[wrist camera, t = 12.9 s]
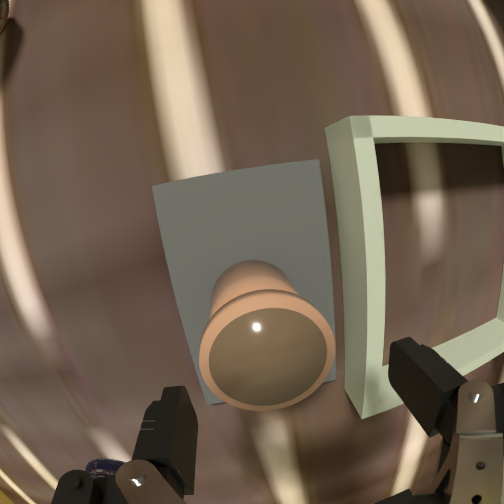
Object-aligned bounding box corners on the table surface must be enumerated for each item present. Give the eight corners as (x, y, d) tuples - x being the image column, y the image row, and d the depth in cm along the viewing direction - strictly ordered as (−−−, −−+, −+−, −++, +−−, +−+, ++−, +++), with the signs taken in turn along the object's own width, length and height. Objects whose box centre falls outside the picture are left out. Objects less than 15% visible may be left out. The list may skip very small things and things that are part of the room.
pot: (292, 247, 18) (332, 285, 11) (301, 331, 19) (336, 396, 13) (197, 264, 18) (183, 312, 11) (216, 346, 19) (216, 419, 12)
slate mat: (314, 160, 18) (318, 159, 17) (332, 374, 22) (336, 379, 21) (154, 185, 17) (151, 185, 16) (207, 398, 21) (207, 404, 20)
